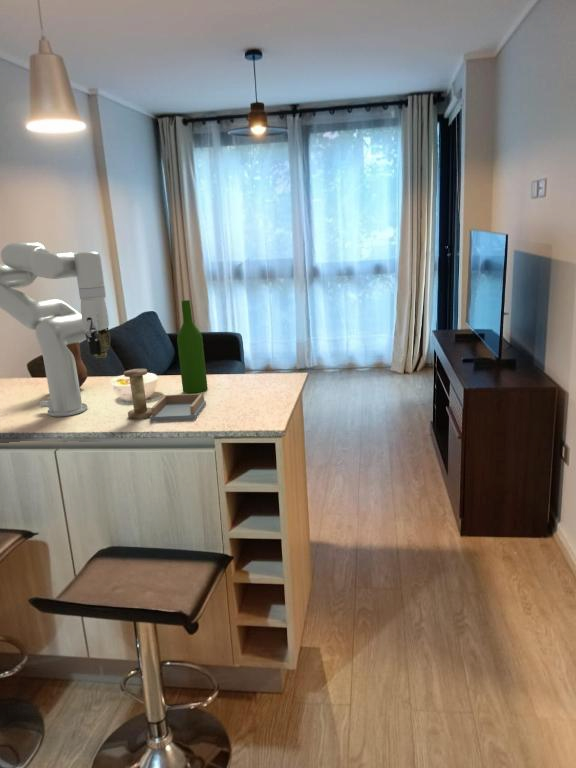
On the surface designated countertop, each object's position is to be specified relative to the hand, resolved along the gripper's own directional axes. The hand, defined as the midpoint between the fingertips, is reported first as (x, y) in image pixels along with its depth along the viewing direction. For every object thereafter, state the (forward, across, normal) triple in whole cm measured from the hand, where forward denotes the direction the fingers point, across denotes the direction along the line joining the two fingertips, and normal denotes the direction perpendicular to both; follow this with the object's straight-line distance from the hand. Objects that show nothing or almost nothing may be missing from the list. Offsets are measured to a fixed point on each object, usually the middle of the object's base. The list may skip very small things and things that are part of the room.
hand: (100, 351), depth 183 cm
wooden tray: (+21, -1, +22) cm, 31 cm away
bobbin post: (+21, 0, +10) cm, 24 cm away
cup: (+2, 0, 0) cm, 2 cm away
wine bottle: (+22, -29, +21) cm, 42 cm away
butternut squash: (+22, -39, -30) cm, 54 cm away
